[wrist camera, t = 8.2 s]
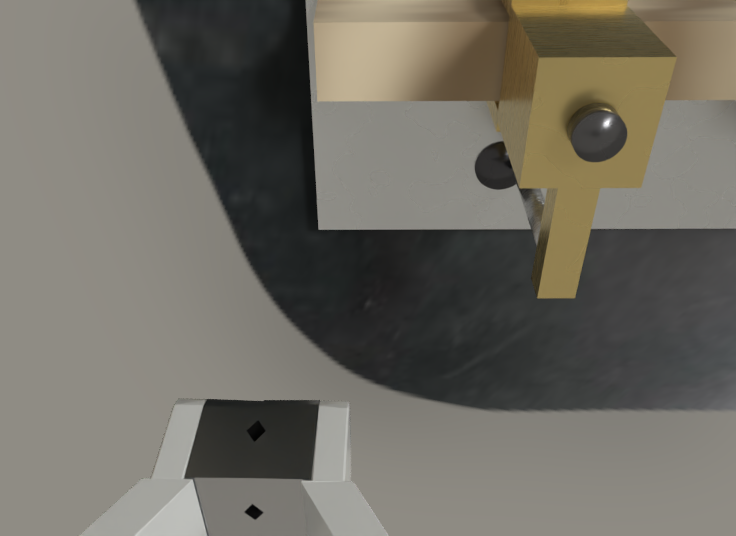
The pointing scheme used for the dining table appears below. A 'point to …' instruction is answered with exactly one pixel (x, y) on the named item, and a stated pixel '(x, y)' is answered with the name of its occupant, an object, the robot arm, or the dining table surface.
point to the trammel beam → (492, 48)
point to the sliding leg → (576, 119)
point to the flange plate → (501, 167)
